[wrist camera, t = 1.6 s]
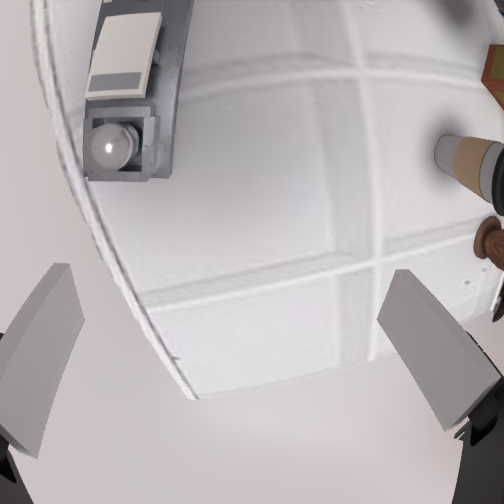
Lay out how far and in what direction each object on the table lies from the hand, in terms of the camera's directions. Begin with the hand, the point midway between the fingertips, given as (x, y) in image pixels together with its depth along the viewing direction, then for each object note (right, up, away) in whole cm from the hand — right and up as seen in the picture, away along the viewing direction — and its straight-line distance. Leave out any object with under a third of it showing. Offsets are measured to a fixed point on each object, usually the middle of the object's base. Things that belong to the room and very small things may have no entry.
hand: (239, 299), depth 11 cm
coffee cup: (+29, +17, +23) cm, 41 cm away
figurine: (+46, +5, +32) cm, 57 cm away
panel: (-12, +22, +14) cm, 29 cm away
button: (-12, +12, +14) cm, 22 cm away
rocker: (-11, +20, +9) cm, 24 cm away
